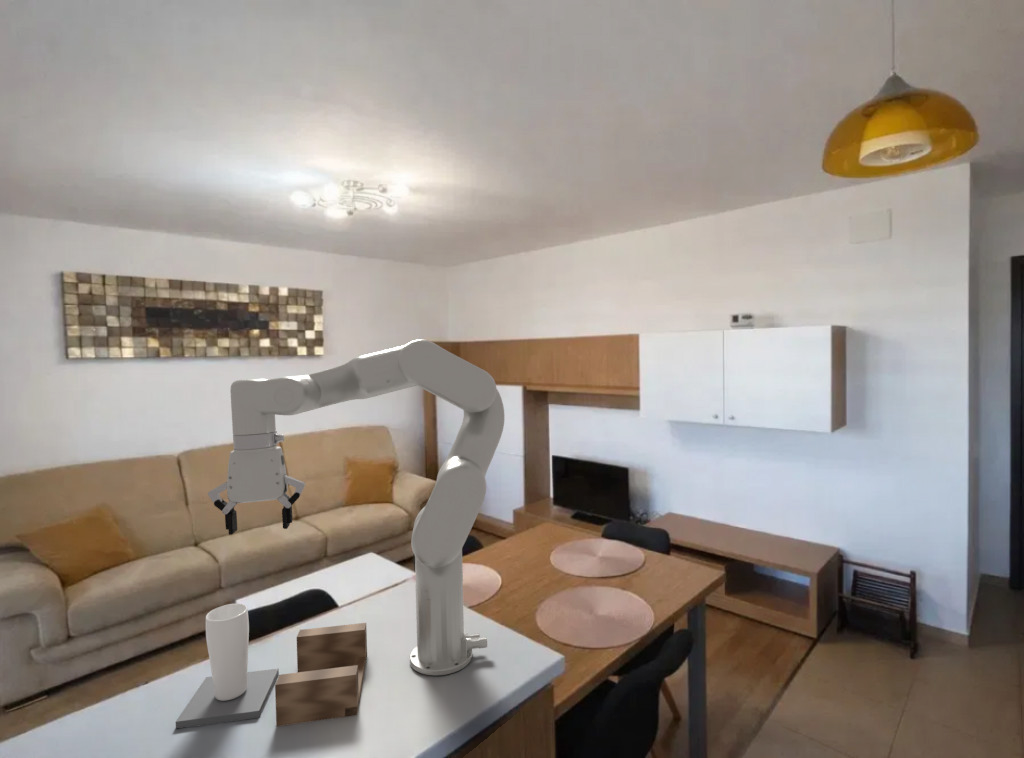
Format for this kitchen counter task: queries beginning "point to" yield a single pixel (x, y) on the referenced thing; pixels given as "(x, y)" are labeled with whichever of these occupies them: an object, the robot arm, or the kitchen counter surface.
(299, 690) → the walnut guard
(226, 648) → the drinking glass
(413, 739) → the kitchen counter surface
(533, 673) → the kitchen counter surface
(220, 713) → the slate board
